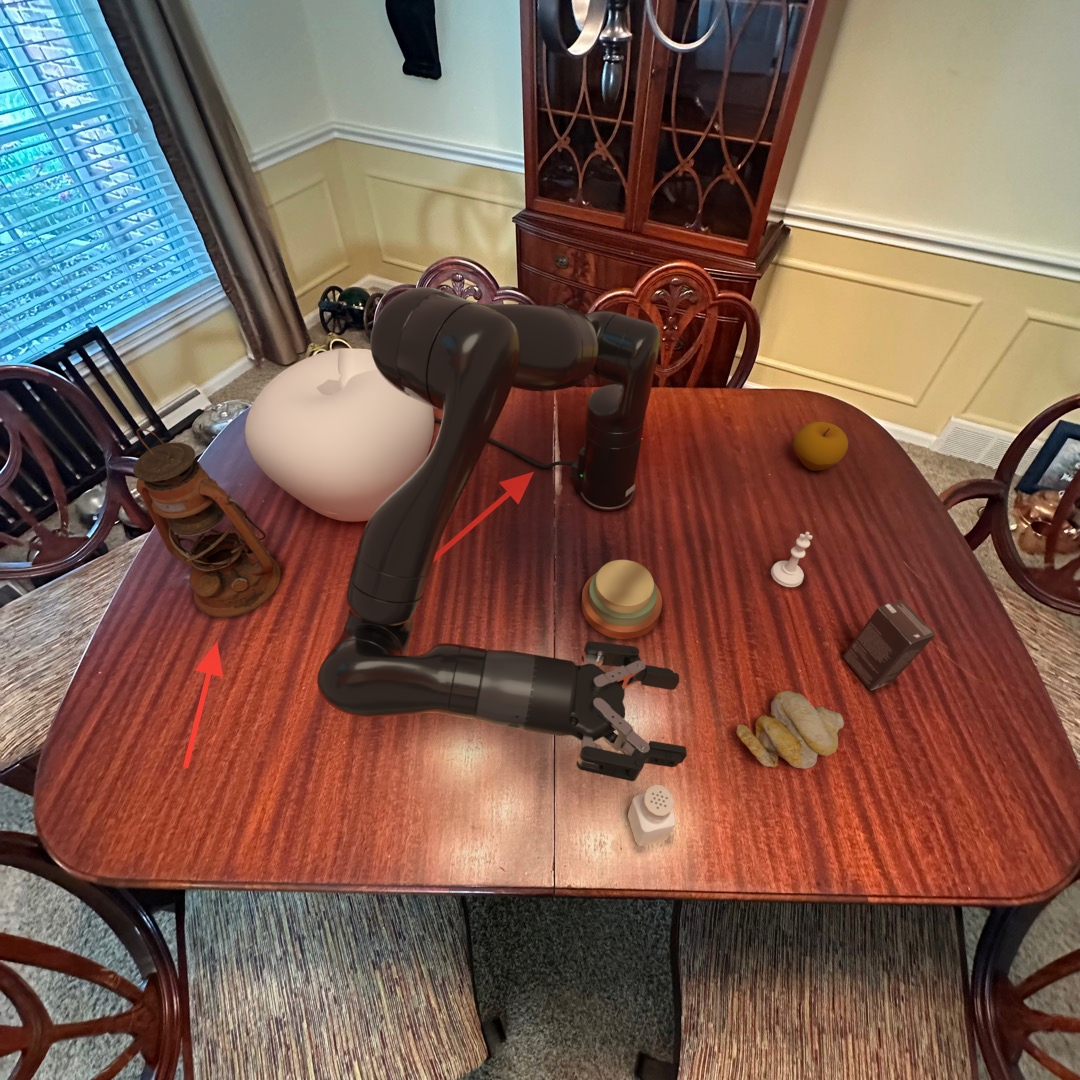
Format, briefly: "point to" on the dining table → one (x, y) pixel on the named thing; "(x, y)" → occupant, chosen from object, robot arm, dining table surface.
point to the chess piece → (792, 564)
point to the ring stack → (621, 600)
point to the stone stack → (793, 732)
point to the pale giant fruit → (338, 434)
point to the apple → (820, 445)
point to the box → (887, 644)
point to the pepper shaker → (652, 815)
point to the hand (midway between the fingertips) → (680, 716)
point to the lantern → (196, 507)
